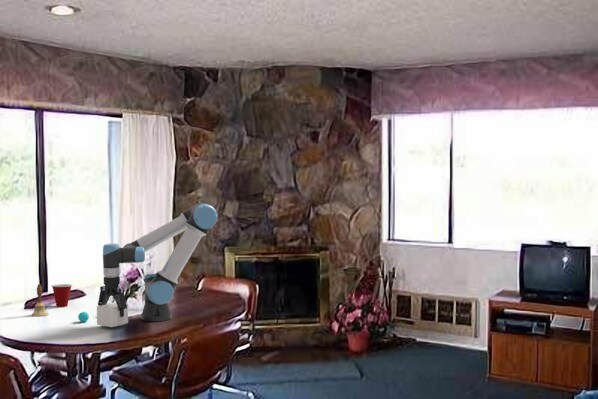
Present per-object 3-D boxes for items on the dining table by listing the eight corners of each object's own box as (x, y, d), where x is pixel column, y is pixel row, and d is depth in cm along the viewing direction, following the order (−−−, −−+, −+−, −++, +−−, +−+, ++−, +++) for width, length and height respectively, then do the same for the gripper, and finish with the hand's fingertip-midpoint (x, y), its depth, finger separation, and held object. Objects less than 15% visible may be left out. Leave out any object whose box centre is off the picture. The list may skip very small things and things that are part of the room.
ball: (91, 321, 346) (91, 311, 345) (83, 323, 341) (82, 313, 341) (84, 320, 348) (84, 310, 348) (76, 322, 344) (76, 312, 344)
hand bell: (42, 317, 355) (42, 286, 354) (28, 316, 357) (27, 285, 356) (51, 313, 363) (51, 283, 362) (37, 312, 365) (37, 282, 364)
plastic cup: (75, 304, 387) (75, 282, 387) (67, 308, 377) (67, 286, 376) (57, 303, 388) (56, 282, 388) (48, 307, 378) (47, 285, 377)
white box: (128, 322, 336) (127, 304, 335) (112, 327, 327) (111, 308, 327) (113, 320, 341) (113, 302, 341) (97, 324, 333) (96, 306, 332)
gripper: (89, 275, 336) (90, 320, 337) (122, 279, 324) (123, 326, 325) (101, 273, 342) (102, 317, 343) (134, 277, 330) (135, 323, 331)
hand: (112, 322), depth 334 cm, fingers closed on white box, 10 cm apart
